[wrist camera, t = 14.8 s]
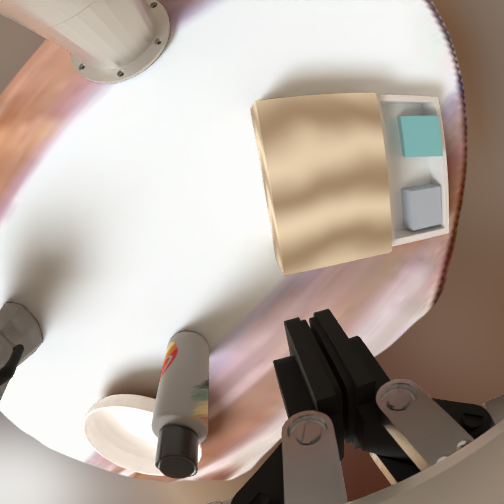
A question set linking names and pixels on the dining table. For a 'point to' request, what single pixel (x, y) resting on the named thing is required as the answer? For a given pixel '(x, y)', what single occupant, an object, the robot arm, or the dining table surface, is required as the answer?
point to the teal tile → (420, 136)
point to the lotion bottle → (182, 405)
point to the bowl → (124, 432)
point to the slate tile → (421, 206)
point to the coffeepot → (16, 340)
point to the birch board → (324, 178)
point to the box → (411, 164)
